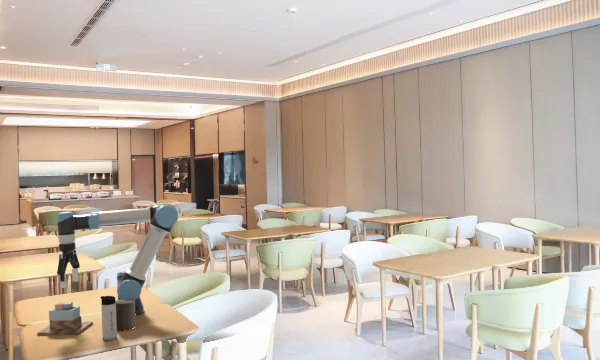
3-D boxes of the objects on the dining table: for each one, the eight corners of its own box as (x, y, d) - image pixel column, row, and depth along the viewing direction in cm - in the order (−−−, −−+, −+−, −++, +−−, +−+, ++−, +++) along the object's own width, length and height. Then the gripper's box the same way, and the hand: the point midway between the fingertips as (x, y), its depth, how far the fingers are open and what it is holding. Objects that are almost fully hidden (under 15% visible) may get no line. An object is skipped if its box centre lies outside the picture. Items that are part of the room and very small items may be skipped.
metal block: (72, 309, 246) (72, 302, 246) (69, 311, 243) (69, 304, 243) (65, 309, 246) (65, 302, 246) (62, 311, 243) (62, 304, 243)
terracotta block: (65, 309, 246) (65, 302, 246) (62, 311, 242) (61, 304, 242) (58, 309, 246) (58, 302, 246) (55, 311, 242) (54, 304, 242)
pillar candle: (116, 332, 238) (115, 302, 237) (113, 327, 246) (113, 297, 246) (137, 329, 242) (136, 299, 242) (134, 324, 251) (133, 294, 250)
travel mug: (104, 336, 232) (102, 294, 232) (118, 336, 233) (117, 294, 232) (100, 341, 226) (98, 298, 225) (114, 340, 226) (113, 297, 226)
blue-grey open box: (80, 316, 248) (79, 306, 248) (72, 320, 241) (72, 310, 241) (57, 316, 248) (56, 306, 248) (49, 320, 241) (48, 310, 241)
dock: (92, 323, 252) (92, 313, 252) (78, 334, 237) (77, 322, 236) (54, 324, 253) (54, 313, 253) (37, 335, 237) (36, 323, 237)
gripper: (70, 239, 260) (73, 278, 261) (47, 247, 235) (50, 291, 236) (84, 238, 260) (87, 278, 261) (63, 246, 235) (66, 290, 236)
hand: (69, 284), depth 248 cm, fingers open, 13 cm apart
